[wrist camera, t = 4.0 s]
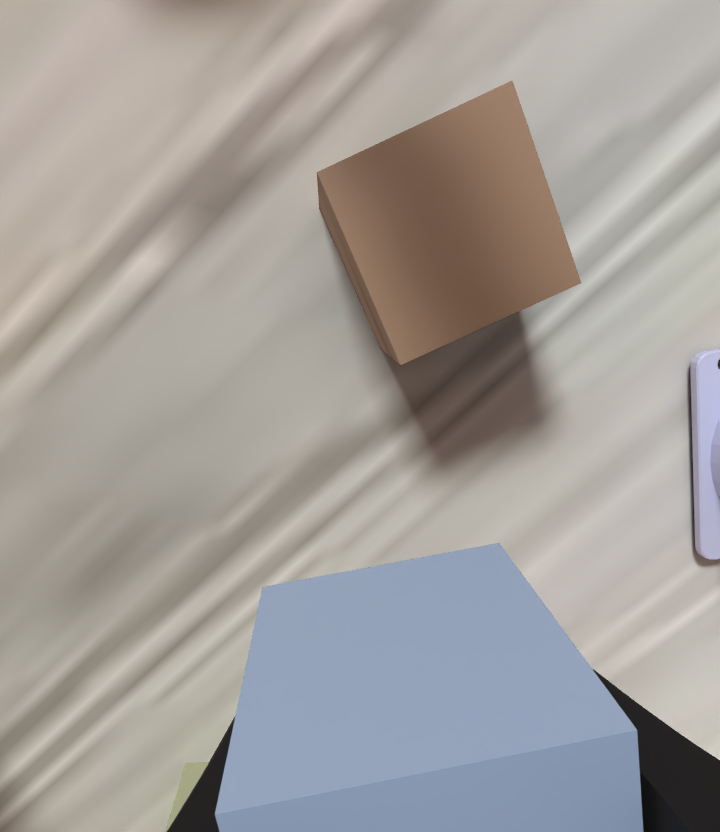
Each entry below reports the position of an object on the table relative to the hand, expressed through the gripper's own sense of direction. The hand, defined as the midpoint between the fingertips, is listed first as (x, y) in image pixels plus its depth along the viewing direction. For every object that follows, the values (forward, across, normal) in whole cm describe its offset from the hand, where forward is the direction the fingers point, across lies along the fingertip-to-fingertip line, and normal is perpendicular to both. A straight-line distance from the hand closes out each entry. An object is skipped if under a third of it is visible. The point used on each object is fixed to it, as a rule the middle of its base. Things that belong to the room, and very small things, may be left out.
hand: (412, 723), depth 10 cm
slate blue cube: (+2, 0, 0) cm, 2 cm away
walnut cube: (+10, -3, -9) cm, 14 cm away
